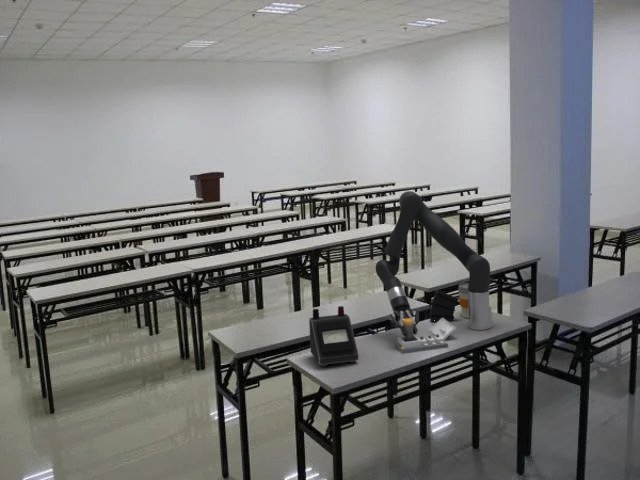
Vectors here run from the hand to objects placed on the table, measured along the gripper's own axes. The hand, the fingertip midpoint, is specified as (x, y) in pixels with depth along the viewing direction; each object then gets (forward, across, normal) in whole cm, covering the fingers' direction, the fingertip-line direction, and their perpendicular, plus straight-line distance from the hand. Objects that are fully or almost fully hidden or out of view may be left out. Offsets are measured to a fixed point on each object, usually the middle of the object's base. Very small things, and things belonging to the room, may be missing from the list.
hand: (410, 334), depth 245 cm
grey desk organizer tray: (+4, +5, +6) cm, 8 cm away
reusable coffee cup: (-16, +45, +25) cm, 54 cm away
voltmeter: (+3, -33, +7) cm, 34 cm away
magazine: (-15, +30, +25) cm, 41 cm away
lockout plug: (+2, 0, +4) cm, 5 cm away
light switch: (-2, +20, +12) cm, 23 cm away
